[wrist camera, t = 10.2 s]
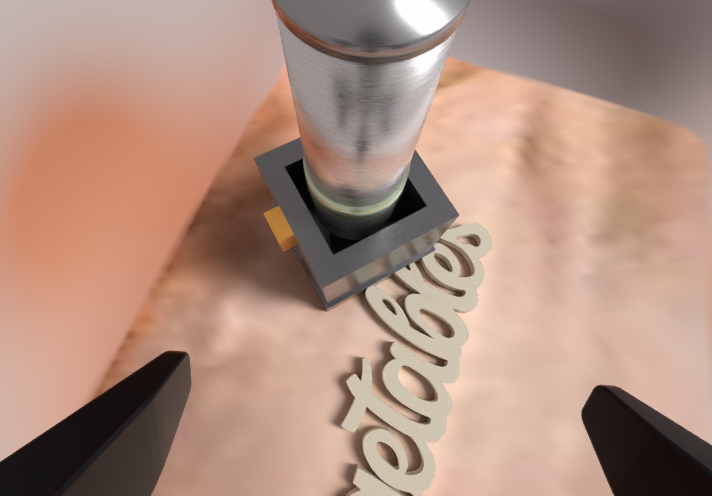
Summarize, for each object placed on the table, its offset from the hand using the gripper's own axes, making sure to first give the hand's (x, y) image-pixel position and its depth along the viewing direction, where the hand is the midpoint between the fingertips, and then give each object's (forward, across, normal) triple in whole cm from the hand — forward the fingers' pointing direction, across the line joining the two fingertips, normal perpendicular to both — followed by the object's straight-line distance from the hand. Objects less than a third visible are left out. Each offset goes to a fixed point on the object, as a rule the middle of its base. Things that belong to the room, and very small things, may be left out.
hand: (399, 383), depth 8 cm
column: (+12, +1, 0) cm, 12 cm away
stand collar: (+16, 0, +3) cm, 16 cm away
